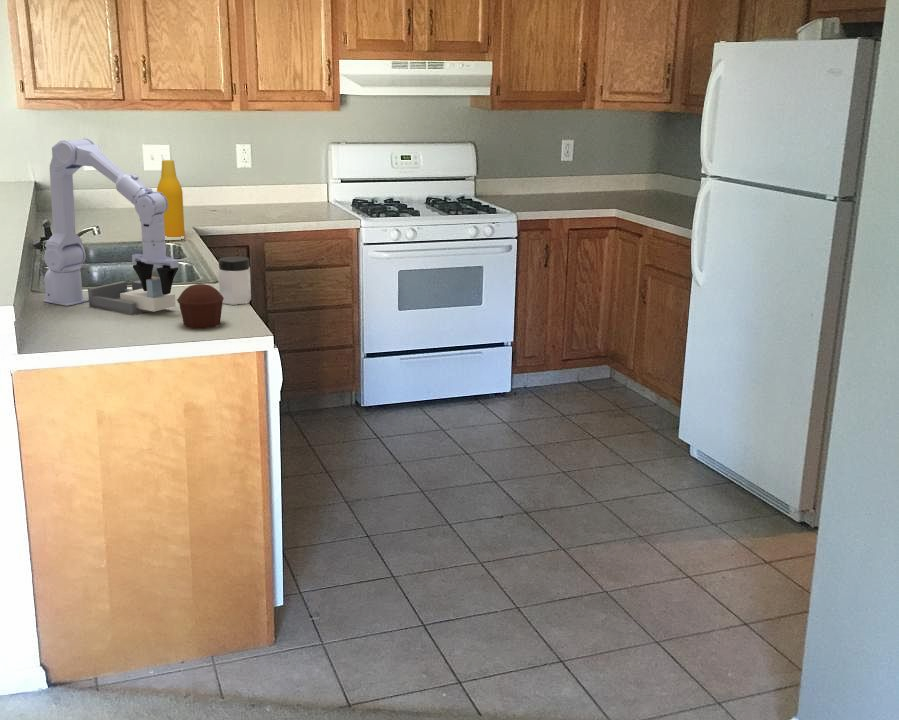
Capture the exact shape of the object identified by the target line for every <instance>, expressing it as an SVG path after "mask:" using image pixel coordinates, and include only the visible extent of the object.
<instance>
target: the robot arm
mask: <svg viewBox="0 0 899 720" xmlns="http://www.w3.org/2000/svg"><path fill="white" fill-rule="evenodd" d="M51 153H52V154H51V156H52V157H51V161H50V163H49V181H50V184H49V185H50V198H51V215H52V235H51V236H50V237H49V238H48V240H47V241H46V242H45V243H46V244H45V247H46V248H45V252H44V254H43V255H44V256H43V259H44V262H45V265H46V266H47V268H48V269H47V270H46V272H45V274H44V289H45V299H43V302H45V303H51V304H55V305H61V306H66V307H67V306H69V307H70V306H72V305H76V304H77V305H78V304H81V303H86V302H89V297H88V298H86V297H83V296H84V295H83V286H82V283H83V282H82V271H81V269H82V268H83V264H84V263H85V261H86V257H87V255H86V250H85V248H84V246H83V240H82V238H81V237H80V236H79V235H77V234H76V219H75V218H76V217H75V197H74V182H73V181H74V179H73V174H75V173H76V172H77V171H78V170H79V169H81V168H82V167H92V168H94V169H95V170H96V171H98V172H99V173H100V174H102V175H103V176H104V177H106V178H107V179H109V180H110V181H112V182H113V183H114V184H115V190H116V191H117V192H118V193H119V194H121V195H122V196H123V197H124V198H125V199H126V200H128V201H129V202H130V203H131V204H132V205H133V206H134V209H135V212H136V213H137V215H138V216H139V222H140V226H141V243H142V254H141V253H135V254H132V255H131V259H132V260H131V262H132V263H135V264H132V268H133V270H134V272H135V273H136V275H137V276H138V280H140V281H141V284H142V287H143V290H144V291H147V284H146V280H148V279H152V276H153V270H154V266H158V267H157V268H156V271H157V274H158V277H160V280H161V288H162V293H163V294H164V295H166V294H170V293H171V291H172V287H173V286H172V285H173V282H174V279H175V277H176V274H177V273H178V270H179V268H180V267H179V266H180V265H179V263H180V262H179V259H175V258H171V257H169V256H167V249H166V247H167V245H166V241H165V225H164V213H165V212H166V211H167V208H168V202H167V199H166V197H165V196H164V195H163V194H162V193H161V192H157V191H154V190H153V189H152V188H151V186H147V185H146V184H145V183H144V182H142V181H141V180H140V179H139V176H138V175H137V174H132V173H124V172H123V171H122V169H120V168H119V167H118V166H117V165H116V164H115V163H114V162H113V161H112V160H111V159H110V158H109V157H107V156H106V154H104V153H103V151H102V150H101V147H100V145H98V144H96V143H95V142H94V141H93V140H92V139H90V138H82V139H72V140H70V139H68V140H66V139H65V140H63V139H62V140H59V141H58V142H56V144H53V146H52V147H51Z"/></svg>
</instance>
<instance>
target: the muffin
mask: <svg viewBox="0 0 899 720" xmlns="http://www.w3.org/2000/svg"><path fill="white" fill-rule="evenodd" d="M223 299H224V298H223V296H222V295H221V294H220V293H219V290H217V288H215V287H214V286H212V285H210V284H206V283H205V284H204V283H196V284H191V285H189V286H187V287H186V288H185V289H184V290H183V291H182V292H181V293H180V295H179V297H178V298H177V299H176V301H177V303H178V305H179V308H180V314H181V318H182V321H183V322H182V323H183V325H184V327H185V328H188V329H192V330H195V329H196V330H197V329H199V330H200V329H201V330H203V329H205V330H206V329H211V328H216V327H218V326H220V325H221V319H222V310H223V304H222V303H223Z"/></svg>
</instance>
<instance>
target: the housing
mask: <svg viewBox="0 0 899 720" xmlns="http://www.w3.org/2000/svg"><path fill="white" fill-rule="evenodd" d="M138 289H143V287H142V284H141V281H140V279H138V280H134V281H131V289H129V288H128V282H127V281H124V280H121V281H117V282H113V283H108V284H103V285H99V286H92V287H89V288H87V294H88V299H89V301H88V306H89V308H92V309H97V310H104V311H108V312H113V313H120V314H124V315H129V316H136V315H140V314H144V313H147V312H149V311H148V310H143V309H137V307H136V303H134V302H129V301H123V300H120V293H125V292H129V291H134V290H138Z"/></svg>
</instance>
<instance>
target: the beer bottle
mask: <svg viewBox="0 0 899 720" xmlns="http://www.w3.org/2000/svg"><path fill="white" fill-rule="evenodd" d="M160 173H161V175H160V179H159V182H158V184H157V187H156V192H161V193H162V194H163V195H164V196H165V197H166V199H167V202H168V208H167V211H166V212H165V213H164V225H165V236H167V237H181V236H185V237H186V232H185V219H184V215H185V214H184V202H183V201H184V198H183V195H184V194H183V188H182V186H181V184H180V181H179V179H178V176H177V172H176V167H175V161H174V160H173V159H164V160H163V159H162V160H161V172H160Z"/></svg>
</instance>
